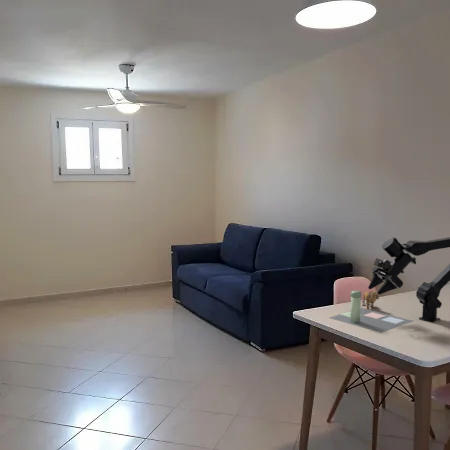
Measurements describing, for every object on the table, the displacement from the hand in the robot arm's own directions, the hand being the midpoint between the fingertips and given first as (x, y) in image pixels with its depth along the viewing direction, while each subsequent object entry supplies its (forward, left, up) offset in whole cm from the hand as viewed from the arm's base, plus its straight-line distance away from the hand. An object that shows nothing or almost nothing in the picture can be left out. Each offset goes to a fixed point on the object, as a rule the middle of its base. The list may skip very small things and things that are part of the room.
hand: (373, 291), depth 200 cm
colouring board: (-2, -2, -13) cm, 14 cm away
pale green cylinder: (+6, -4, -13) cm, 15 cm away
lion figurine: (-19, -14, -14) cm, 27 cm away
